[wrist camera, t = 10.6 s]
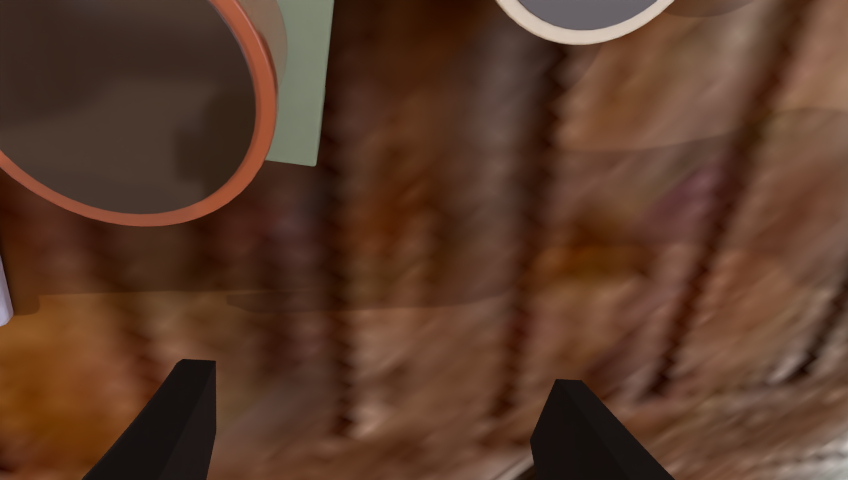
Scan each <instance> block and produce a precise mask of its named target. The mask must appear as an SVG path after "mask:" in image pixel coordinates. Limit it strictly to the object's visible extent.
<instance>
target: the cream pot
mask: <svg viewBox="0 0 848 480" xmlns="http://www.w3.org/2000/svg"><path fill="white" fill-rule="evenodd" d="M494 1H495V3H496V4H497V5H498V6H499V7H500V8H501V10H502V11H503V12H504V13H505V14H506V15H507V16H508V17H510V18H511V19H512V20H513V21H514V22H515V23H517V24H518V25H519V26H521V27H523V28H524V29H526V30H527V31H529V32H530V33H532V34H534V35H536V36H539V37H541V38H543V39H545V40H549V41H553V42H556V43H561V44H569V45H589V44H595V43H602V42H606V41H609V40H612V39H616V38H619V37H621V36H623V35H625V34H628V33H630V32H632V31H634V30H636V29H637V28H639V27H641V26H643V25H644V24H646V23H648V22H649V21H650V20H652V19H653V18H654V17H656V16H657V15H658V14H660V13H661V12H662V11H663V10H664V9H665V8H667V7H668V6H669V5H670V4H671V3H672V2H673V1H674V0H494Z"/></svg>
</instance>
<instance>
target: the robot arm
mask: <svg viewBox="0 0 848 480" xmlns="http://www.w3.org/2000/svg"><path fill="white" fill-rule="evenodd" d="M12 316H13V308H12V304H11V299H10V295H9V291H8V286H7V282H6V278H5V274H4V269H3V265H2V261H1V256H0V326H3V325H5V324H7V323H8V321H9V320H10V319H11V318H12ZM215 435H216V361H210V360H191V359H182V360H181V361H179V362H178V363H177V364H176V365H175V367H174V368H173V370H172V371H171V373H170V374H169V375H168V377H167V378H166V380H165V381H164V382H163V384H162V385H161V386H160V388H159V389H158V390H157V392H156V393H155V394H154V396H153V397H152V398H151V400H150V401H149V402H148V403H147V405H146V406H145V407H144V408H143V410H142V411H141V412H140V413H139V415H138V416H137V417H136V418H135V420H134V421H133V422H132V423H131V424H130V425H129V427H128V428H127V429H126V430H125V431H124V433H123V434H122V435H121V436H120V437H119V438H118V440H117V441H116V442H115V443H114V444H113V446H112V447H111V448H110V449H109V450H108V451H107V453H106V454H105V455H104V456H103V457H102V458H101V459H100V460H99V461H98V462H97V464H96V465H95V466H94V467H93V468H92V469H91V470H90V471H89V472H88V473H87V474H86V475H85V476H84V477H83V479H82V480H206V478H207V474H208V469H209V464H210V460H211V455H212V450H213V445H214V440H215ZM530 444H531V450H532V455H533V460H534V466H535V470H536V475H537V479H538V480H675V479H674V478H673V477H672V476H671V475H670V474H669V473H668V472H667V471H666V470H665V469H664V468H663V467H662V466H661V465H660V464H659V463H658V462H657V461H656V460H655V459H654V458H653V457H652V456H651V455H650V454H649V453H648V451H647V450H646V449H645V448H644V447H643V446H642V445H641V444H640V443H639V442H638V441H637V440H636V439H635V438H634V437H633V436H632V434H631V433H630V432H629V431H628V430H627V429H626V428H625V427H624V426H623V425H622V424H621V422H620V421H619V420H618V419H617V418H616V417H615V416H614V415H613V414H612V413H611V412H610V410H609V409H608V408H607V407H606V406H605V405H604V404H603V403H602V402H601V401H600V400H599V398H598V397H597V396H596V395H595V394H594V393H593V392H592V391H591V390H590V389H589V388H588V387H587V386H586V385H585V384H584V383H583V382H582V381H581V380H564V379H556V380H555V383H554V385H553V387H552V390H551V392H550V394H549V397H548V399H547V401H546V404H545V406H544V408H543V411H542V413H541V415H540V418H539V420H538V422H537V425H536V427H535V429H534V432H533V434H532V436H531V439H530Z"/></svg>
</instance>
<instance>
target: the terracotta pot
mask: <svg viewBox="0 0 848 480" xmlns="http://www.w3.org/2000/svg"><path fill="white" fill-rule="evenodd" d="M287 52H288V43H287V35H286V28H285V24H284V20H283V16H282V13H281V11H280V8H279V6H278V3H277V1H276V0H0V168H2V169H3V170H4V171H5V172H6V173H7V174H8V175H10V176H11V177H12V178H14V179H15V180H16V181H18V182H19V183H20V184H22V185H23V186H25V187H26V188H27V189H29V190H30V191H32V192H34V193H36V194H37V195H39V196H41V197H42V198H44V199H46V200H47V201H49V202H51V203H54V204H56V205H58V206H60V207H62V208H64V209H66V210H69V211H71V212H74V213H77V214H79V215H82V216H85V217H88V218H92V219H96V220H99V221H103V222H107V223H113V224H119V225H126V226H142V227H150V226H166V225H172V224H178V223H183V222H186V221H190V220H193V219H197V218H200V217H202V216H204V215H207V214H209V213H211V212H214V211H216V210H217V209H219V208H221V207H222V206H224V205H226V204H227V203H229V202H230V201H231V200H233V199H234V198H235V197H236V196H237V195H239V194H240V193H241V192H242V191H243V190H244V189H245V188H246V187H247V186H248V185H249V183H250V182H251V181H252V180H253V179H254V177H255V176H256V174H257V173H258V171H259V170H260V168H261V167H262V165H263V163H264V161H265V158H266V156H267V154H268V152H269V149H270V147H271V144H272V140H273V137H274V133H275V130H276V126H277V119H278V112H279V88H280V86H281V83H282V81H283V77H284V73H285V70H286V64H287Z"/></svg>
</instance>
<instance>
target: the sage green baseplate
mask: <svg viewBox="0 0 848 480" xmlns="http://www.w3.org/2000/svg"><path fill="white" fill-rule="evenodd" d="M276 1H277V3H278V6H279V8H280V11H281V13H282V16H283V20H284V24H285V28H286V35H287V43H288V52H287V64H286V70H285V73H284V77H283V81H282V83H281V86H280V88H279V112H278V119H277V126H276V130H275V133H274V137H273V140H272V144H271V147H270V149H269V152H268V154H267V156H266V158H265V160H269V161H277V162H284V163H291V164H299V165H306V166H315V165H316V163H317V156H318V149H319V142H320V135H321V126H322V117H323V108H324V99H325V90H326V89H325V82H326V72H327V63H328V54H329V45H330V35H331V26H332V17H333V8H334V0H276Z"/></svg>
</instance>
